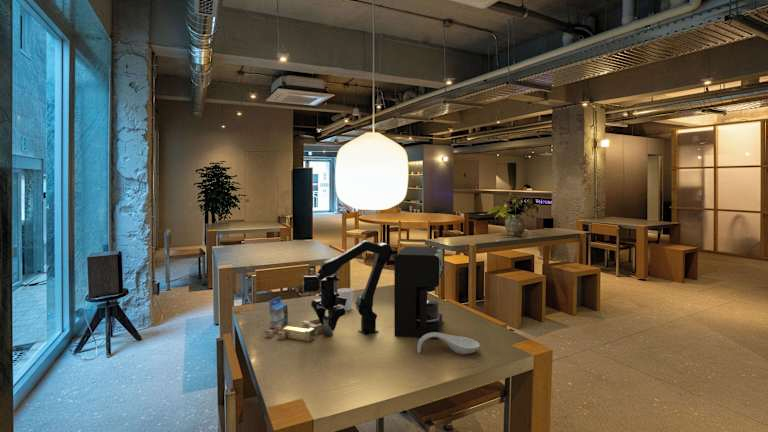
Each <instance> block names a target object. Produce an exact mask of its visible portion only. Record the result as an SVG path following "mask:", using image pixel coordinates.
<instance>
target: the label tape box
mask: <svg viewBox="0 0 768 432" xmlns="http://www.w3.org/2000/svg"><path fill="white" fill-rule="evenodd" d="M281 299H282V296H280V295H279V296H278V297H275V298H273V299H271V300H269V307H268V308H269V322H270V323H269V324H270V328H271V329H274V326H275V325H279V326H282V327H283V326H284V325H285V324H287V323H289V317H288V316H289V315H288V314H289V311H288V304H286V303H284V302H282V300H281Z"/></svg>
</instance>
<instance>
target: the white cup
mask: <svg viewBox="0 0 768 432" xmlns="http://www.w3.org/2000/svg"><path fill="white" fill-rule="evenodd" d="M337 293H338V294H339V295H340V296H341V297H344V298H346V299H347V301H346V304H345V306H343V305H339V304H338V306H340V307H342V308H344V309H345V312H346V311H347V312H348V311H351V310H353V302H354V299H353V297H354V289H353V288H351V287H350V288H349V287H343V288H342V287H341V288H338V289H337Z"/></svg>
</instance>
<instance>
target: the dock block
mask: <svg viewBox="0 0 768 432" xmlns="http://www.w3.org/2000/svg"><path fill="white" fill-rule="evenodd" d="M301 323H302V324H301V328H304V329H309V328H315V335H316V336H317V335H319V334H320V335H321V334H323V325H322V324H321V322H320V320H319V318H318V317H314V318H309V319H306V320H302V321H301Z"/></svg>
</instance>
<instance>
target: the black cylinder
mask: <svg viewBox="0 0 768 432" xmlns="http://www.w3.org/2000/svg"><path fill="white" fill-rule="evenodd" d="M328 315H329V314H327V315H326V314H325V316H323V333H322V336H323V337H325V338H330V337H333V336H334V330H333V331H332V329H331V326H330V323H329V319H328Z"/></svg>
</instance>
